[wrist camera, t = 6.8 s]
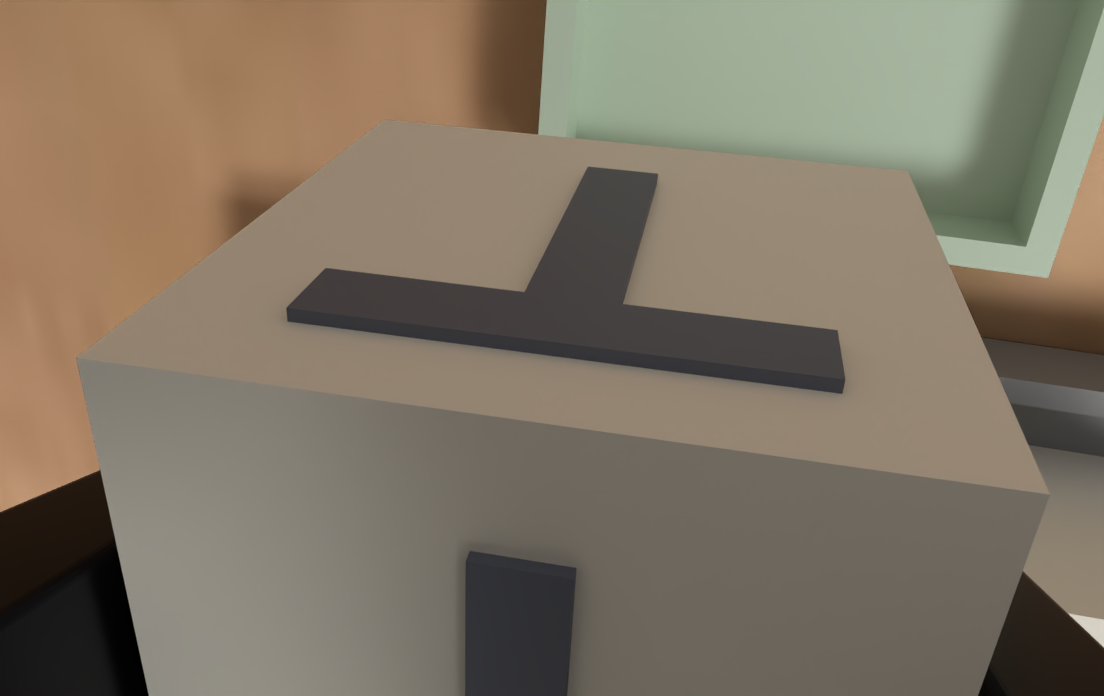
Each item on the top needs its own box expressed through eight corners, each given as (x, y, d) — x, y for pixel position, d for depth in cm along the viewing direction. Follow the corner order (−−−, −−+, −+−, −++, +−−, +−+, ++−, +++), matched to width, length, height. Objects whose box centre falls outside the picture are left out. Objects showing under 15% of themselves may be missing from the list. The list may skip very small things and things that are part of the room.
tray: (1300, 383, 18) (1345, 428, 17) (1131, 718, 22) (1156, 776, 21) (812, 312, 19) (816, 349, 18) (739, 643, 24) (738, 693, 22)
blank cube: (1156, 465, 19) (1271, 649, 15) (1073, 650, 21) (1152, 857, 17) (894, 424, 20) (930, 589, 15) (842, 608, 22) (861, 797, 18)
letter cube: (910, 161, 9) (1060, 490, 4) (813, 586, 11) (849, 1073, 7) (384, 110, 10) (62, 351, 5) (398, 520, 12) (189, 923, 8)
